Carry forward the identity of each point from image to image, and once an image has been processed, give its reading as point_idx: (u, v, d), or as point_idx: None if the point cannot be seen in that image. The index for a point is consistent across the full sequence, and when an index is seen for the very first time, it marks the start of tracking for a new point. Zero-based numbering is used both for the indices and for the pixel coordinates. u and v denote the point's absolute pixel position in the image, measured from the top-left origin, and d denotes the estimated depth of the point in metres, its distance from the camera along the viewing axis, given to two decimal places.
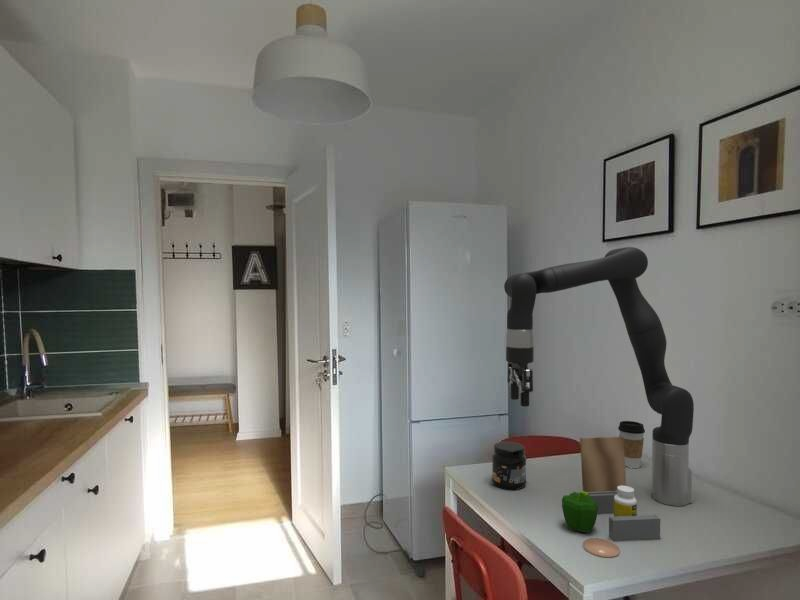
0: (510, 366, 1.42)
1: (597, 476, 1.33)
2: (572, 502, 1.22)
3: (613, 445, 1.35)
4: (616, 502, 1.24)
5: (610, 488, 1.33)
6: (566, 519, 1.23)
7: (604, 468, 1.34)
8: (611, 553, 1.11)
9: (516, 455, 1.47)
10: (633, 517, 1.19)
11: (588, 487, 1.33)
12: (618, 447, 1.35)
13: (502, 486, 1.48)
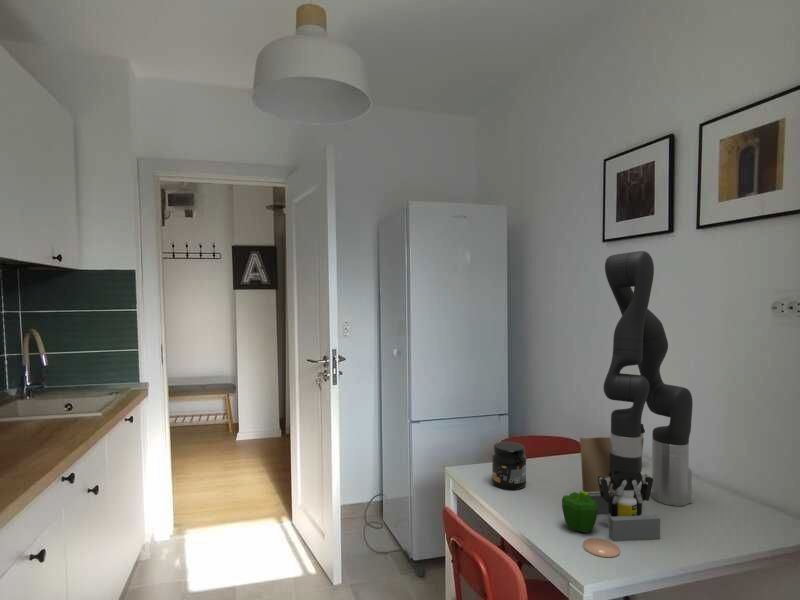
0: None
1: (597, 476, 1.33)
2: (573, 502, 1.22)
3: None
4: None
5: None
6: (566, 519, 1.23)
7: (604, 468, 1.34)
8: (611, 553, 1.11)
9: (516, 455, 1.47)
10: (633, 517, 1.19)
11: (588, 487, 1.33)
12: None
13: (502, 486, 1.48)
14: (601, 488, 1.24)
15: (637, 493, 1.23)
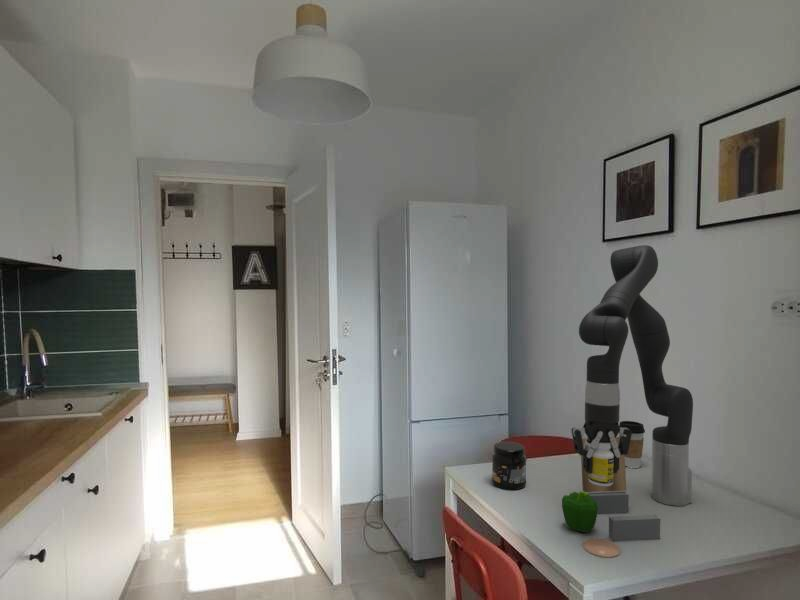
0: None
1: None
2: (572, 502, 1.22)
3: None
4: (591, 456, 1.13)
5: (610, 488, 1.33)
6: (566, 519, 1.23)
7: None
8: (611, 553, 1.11)
9: (516, 455, 1.47)
10: (633, 517, 1.19)
11: (588, 487, 1.33)
12: None
13: (502, 486, 1.48)
14: (575, 440, 1.14)
15: (614, 446, 1.13)
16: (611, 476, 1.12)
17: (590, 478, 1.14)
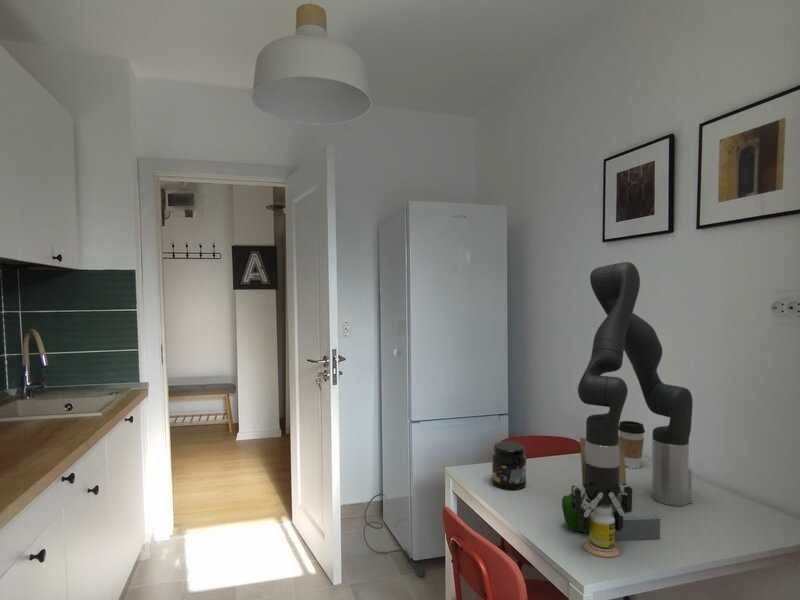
0: None
1: None
2: None
3: None
4: (592, 520, 1.13)
5: None
6: (566, 519, 1.23)
7: None
8: (611, 553, 1.11)
9: (516, 455, 1.47)
10: (633, 517, 1.19)
11: None
12: None
13: (502, 486, 1.48)
14: (573, 499, 1.13)
15: (616, 506, 1.12)
16: (612, 541, 1.12)
17: (591, 543, 1.14)
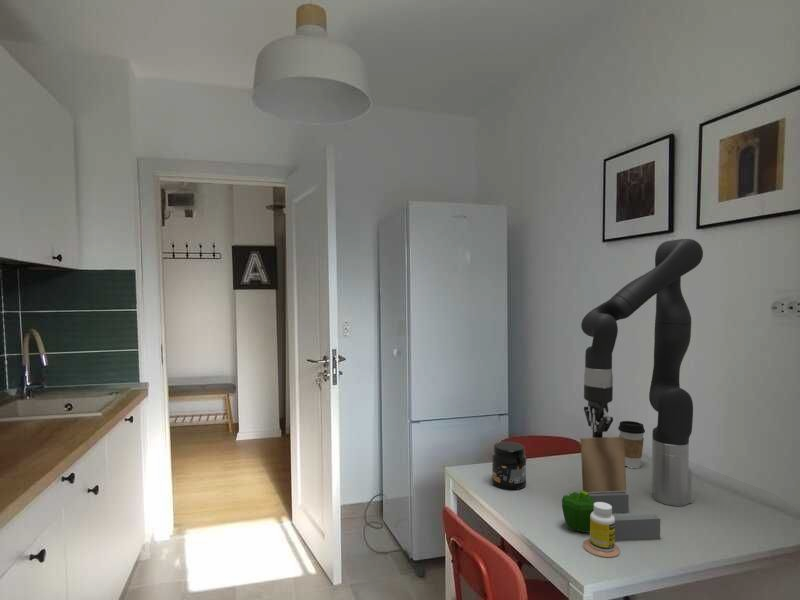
0: None
1: (597, 476, 1.33)
2: (572, 502, 1.22)
3: (613, 445, 1.34)
4: (592, 520, 1.13)
5: (610, 488, 1.33)
6: (566, 519, 1.23)
7: (605, 468, 1.33)
8: (611, 553, 1.11)
9: (516, 455, 1.47)
10: (633, 517, 1.19)
11: (588, 487, 1.33)
12: (618, 447, 1.34)
13: (502, 486, 1.48)
14: (606, 425, 1.33)
15: None
16: (612, 541, 1.12)
17: (591, 543, 1.14)
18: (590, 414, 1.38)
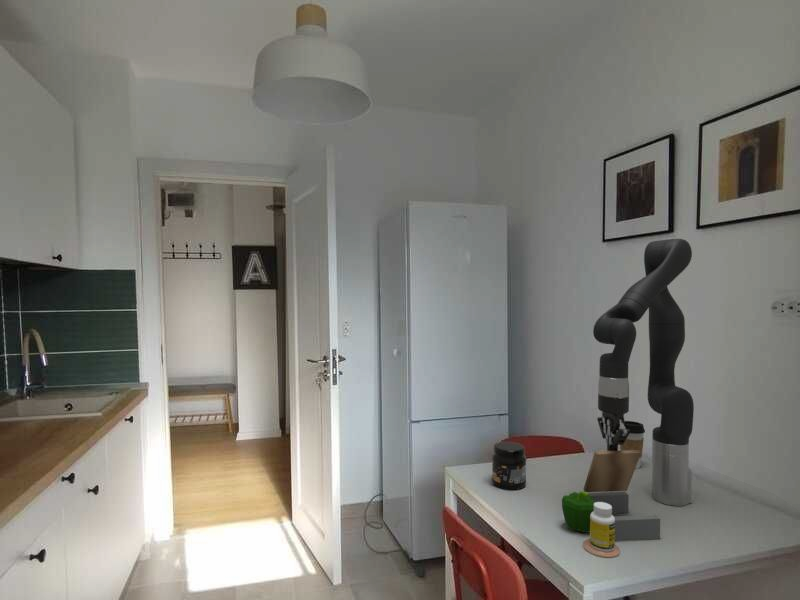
0: None
1: (601, 481, 1.31)
2: (572, 502, 1.22)
3: (628, 459, 1.27)
4: (592, 520, 1.13)
5: (611, 489, 1.33)
6: (566, 519, 1.23)
7: (611, 476, 1.30)
8: (611, 553, 1.11)
9: (516, 455, 1.47)
10: (633, 517, 1.19)
11: (589, 489, 1.32)
12: (632, 460, 1.28)
13: (502, 486, 1.48)
14: (622, 438, 1.24)
15: None
16: (612, 541, 1.12)
17: (591, 543, 1.14)
18: (604, 426, 1.30)
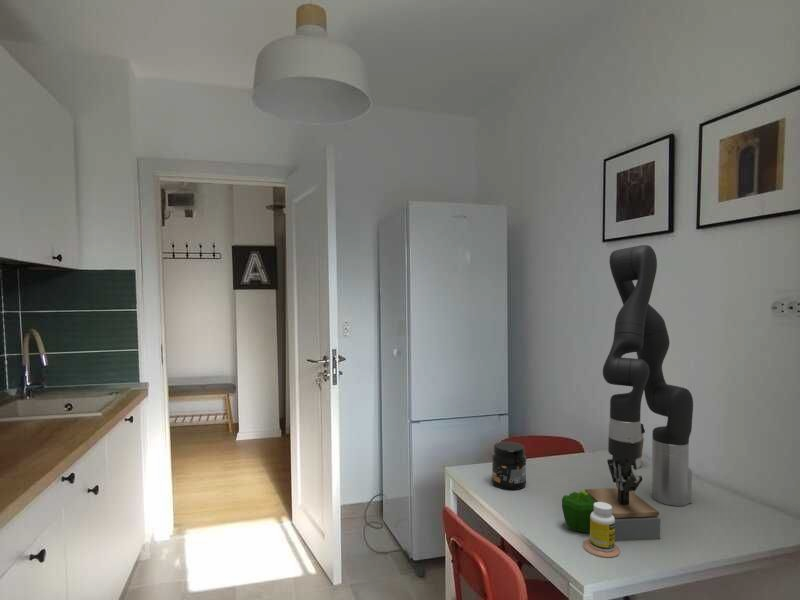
0: None
1: None
2: (572, 502, 1.22)
3: None
4: (592, 520, 1.13)
5: None
6: (566, 519, 1.23)
7: None
8: (611, 553, 1.11)
9: (516, 455, 1.47)
10: (633, 517, 1.19)
11: None
12: None
13: (502, 486, 1.48)
14: (634, 485, 1.19)
15: None
16: (612, 541, 1.12)
17: (591, 543, 1.14)
18: (615, 470, 1.24)
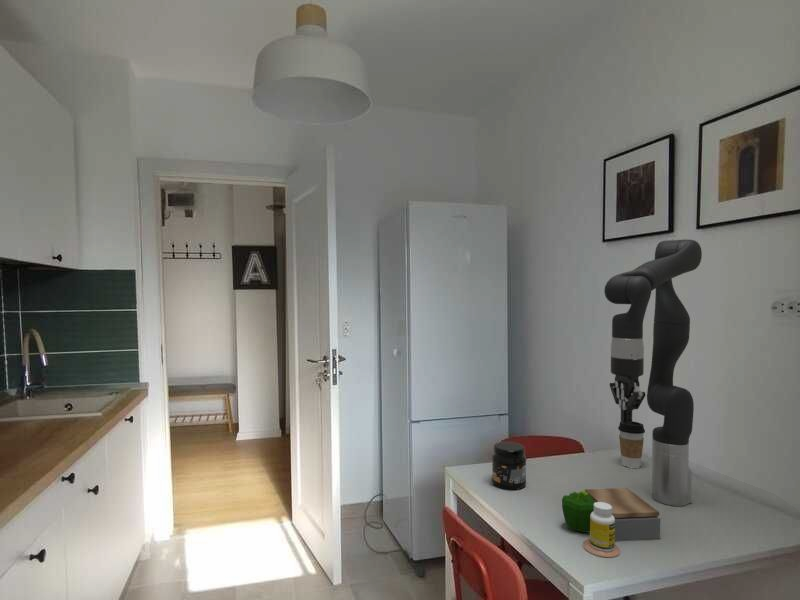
0: None
1: None
2: (572, 502, 1.22)
3: None
4: (592, 520, 1.13)
5: None
6: (566, 519, 1.23)
7: None
8: (611, 553, 1.11)
9: (516, 455, 1.47)
10: (633, 517, 1.19)
11: None
12: None
13: (502, 486, 1.48)
14: (637, 401, 1.18)
15: None
16: (612, 541, 1.12)
17: (591, 543, 1.14)
18: (618, 390, 1.23)
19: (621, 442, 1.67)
